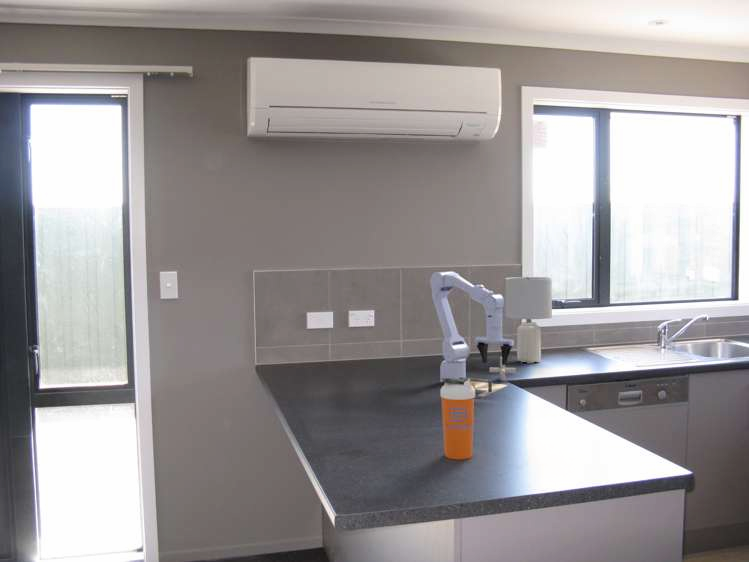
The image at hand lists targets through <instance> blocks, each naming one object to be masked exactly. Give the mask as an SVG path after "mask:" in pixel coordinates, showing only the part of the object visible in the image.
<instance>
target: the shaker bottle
mask: <svg viewBox="0 0 749 562" xmlns="http://www.w3.org/2000/svg"><path fill="white" fill-rule="evenodd" d="M469 378H470V377H466V378H464V379H463V380H462V379H456V378H445V379H443V382H444V385H442V386H441V388H440V391H439V392H440V399H441V412H442V430H443V431H442V433H443V449H444V456H445V457H446V459H451V460H455V461H456V460H457V461H458V460H460V461H461V460H463V461H464V460H468V459H470V458H472V457H473V448H474V447H473V440H474V420H475V419H474V416H475V415H474V412H475V411H474V410H475V398H476V390H475V389H474V388H473V386H472V384H471V381H470V379H469Z"/></svg>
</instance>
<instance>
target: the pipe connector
mask: <svg viewBox="0 0 749 562" xmlns="http://www.w3.org/2000/svg"><path fill="white" fill-rule="evenodd" d="M499 359H500V360H499V367H489V373H499V376H500V377H499V379H500V380H499V381H506V373H514V374H515V373H517V371H516V370H517V368H516V367H506V365H502V356H500V357H499Z"/></svg>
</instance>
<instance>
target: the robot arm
mask: <svg viewBox="0 0 749 562" xmlns="http://www.w3.org/2000/svg"><path fill="white" fill-rule="evenodd" d="M429 284H430V288H431V299H432V301H433V304H434V307H435V310H436V314H437V318H438V321H439V325H440V326H441V329H442V333H443V337H444V340H443V342H442V343H441V348H442V357H443V358H444V360H442V361H441V363H440V367H439V374H440V375H439V376H440V377H439V379H440V382H439V383H443V382H444V381H443V379H445V378H456V379H459V378H460V377H462V378H467V376H466V375H467V373H466V361H467V358H468V357H469V355H470V348H469V346H468V344H467V343H466V340H465V338H463V337H462V336H461V335H459V331H458V328H457V326H456V322H455V320H454V317H453V316H454V315H453V313H452V310H451V309H452V308H451V306H450V304H449V300H448V296H449V294H450V292H452V290H453V289H454V288H455V287H456V288H458V289H461V291H464V292H465V293H468V294H469V296H470V298H471V299H472V300H473V301H475V302H477V303H478V304H480V305H482V307H483V308H484V312H485V316H486V322H485V323H486V330H485V331H486V337H475V341H474V342H475V344H476V348H477V349H478V351H479V353H480V356H481V359H482V364H487V363H488V349H489V345H499V346H500V350H501V357H502V365H505V366H506V365H507V361H508V358H509V355H510V353H511V350H512V348H513V346H514V345H515V340H514V339H507V338H503V308H504V307H506V298H505V297H504V296H503V295H502V294H500V293H496V294H495V293H494V291H493V290H489V289H487V288H485V286H484V285H483V284H477V285H474V284H472V283H471V282H469V281H468V280H466V279H464V278H463V277H462V276H460V274H459V273H457V272H455V271H453V270H451V271H440V272H439V271H436V272H433V274H432V275H431V277H430V280H429Z"/></svg>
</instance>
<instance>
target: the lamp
mask: <svg viewBox="0 0 749 562" xmlns="http://www.w3.org/2000/svg"><path fill="white" fill-rule="evenodd" d="M552 281H553V280H552V277H547V276H546V277H544V276H541V277H540V276H539V277H538V276H523V277H522V276H519V277H518V276H517V277H516V276H515V277H505V317H506V318H508V319H513V320H516V319H517V320H525V321H523V322H521V324H520V325H519V326H518V327H517V329H516V331H517V332H516V333H517V335H516V336H517V337H516V339H517V340H516V342H517V343H516V345H517V347H516V349H517V352H516V353H517V360H518V362H519V361H521V362H520V363H522V362H527V363H526V364H535V363H534V362H537V363H539V362H540V361H541V359H542V353H541V352H542V350H541V349H542V345H541V344H542V339H541V338H542V337H541V335H542V332H541V327H540V326H539V325H538V324H537V322H534V321H532V320H545V319H551V318H553V291H552V290H553V282H552Z"/></svg>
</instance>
